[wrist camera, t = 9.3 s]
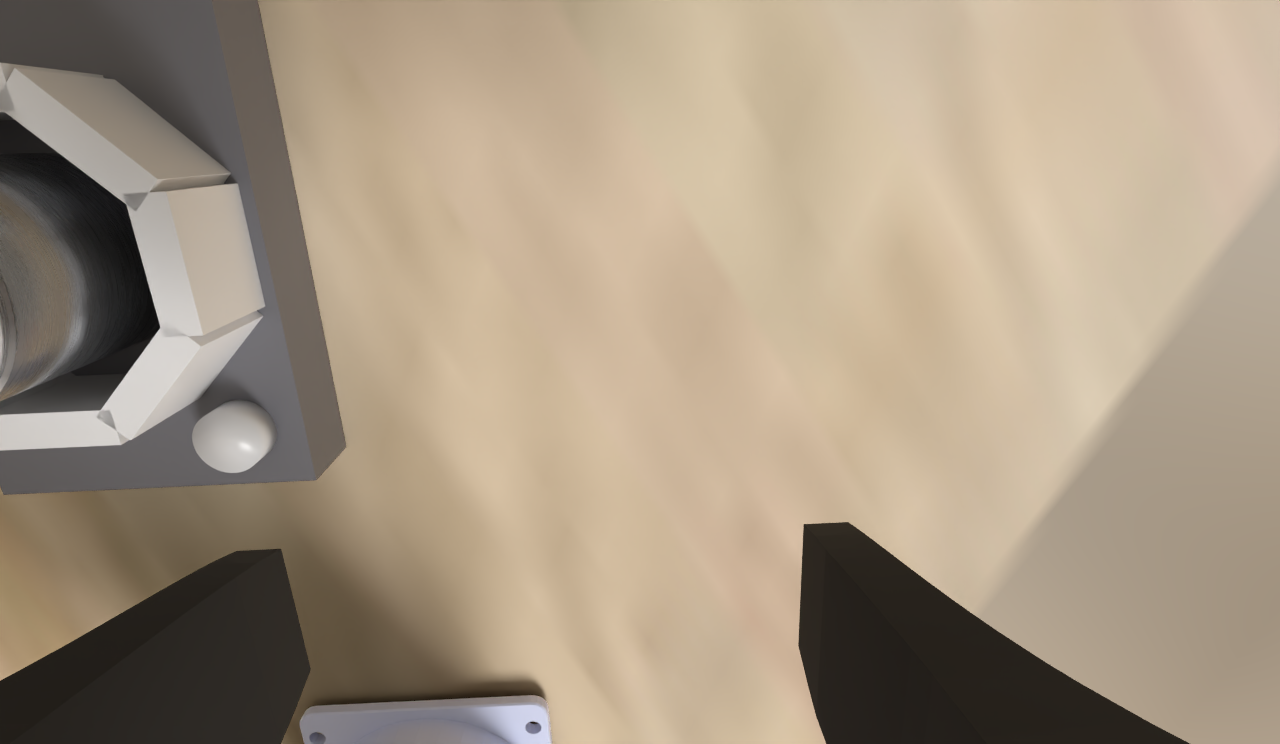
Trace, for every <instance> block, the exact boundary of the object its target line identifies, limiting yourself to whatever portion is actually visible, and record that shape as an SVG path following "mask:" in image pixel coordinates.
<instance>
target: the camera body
mask: <svg viewBox="0 0 1280 744" xmlns="http://www.w3.org/2000/svg"><path fill="white" fill-rule="evenodd" d="M19 153H59V154H61V155H62V156H63V157H65V158H66V159H67V160H68V161H70V162H71V163H72V164H74V165H75V166H76V167H78V168H79V169H80V170H82V171H83V172H84V173H86V174H87V175H88V176H90V177H91V178H92V179H93V180H95V181H96V182H97V183H99V184H100V185H101V186H103V187H104V188H105V189H107V190H108V191H109V192H111V193H112V194H113V195H115V196H116V197H117V198H118V199H120V200H121V201H122V202H124V203H125V204H126V205H127V209H128V213H129V216H130V220H131V223H132V227H133V230H134V234H135V238H136V241H137V245H138V248H139V252H140V256H141V259H142V263H143V266H144V270H145V274H146V277H147V281H148V284H149V288H150V291H151V295H152V299H153V302H154V306H155V309H156V313H157V317H158V320H159V324H160V327H161V328H160V329H159V330H158V332H157V333H156V335H155V336H153V337H151V338H149V339H147V340H145V341H142V342H140V343H138V344H135V345H133V346H131V347H128V348H126V349H123V350H121V351H119V352H116V353H114V354H112V355H109V356H107V357H104V358H102V359H100V360H97V361H95V362H92V363H90V364H88V365H85V366H83V367H81V368H78V369H76V370H73V371H71V372H69V373H66V374H64V375H62V376H59V377H57V378H54V379H52V380H50V381H47V382H45V383H43V384H40V385H38V386H35V387H33V388H31V389H28V390H26V391H24V392H21V393H19V394H16V395H14V396H12V397H9V398H7V399H5V400H2V401H0V487H1V489H2V492H3V494H4V495H8V494H30V493H51V492H73V491H95V490H116V489H138V488H159V487H181V486H202V485H224V484H245V483H267V482H288V481H310V480H317V479H318V478H319V477H320V475H321V474H322V473H323V472H324V471H325V470H326V469H327V468H328V467H329V466H330V464H331V463H332V462H333V461H334V460H335V459H336V458H337V457H338V456H339V454H340V453H341V452H342V451H343V450H344V449H345V448H346V443H345V438H344V433H343V428H342V423H341V418H340V413H339V408H338V403H337V398H336V393H335V388H334V383H333V378H332V373H331V368H330V363H329V358H328V353H327V348H326V343H325V338H324V333H323V327H322V322H321V317H320V312H319V307H318V302H317V297H316V292H315V287H314V282H313V277H312V272H311V267H310V262H309V257H308V252H307V247H306V242H305V237H304V232H303V227H302V222H301V217H300V212H299V207H298V202H297V197H296V192H295V187H294V182H293V177H292V171H291V166H290V161H289V156H288V151H287V146H286V141H285V136H284V131H283V126H282V121H281V116H280V111H279V106H278V101H277V96H276V91H275V86H274V81H273V76H272V71H271V66H270V61H269V56H268V51H267V46H266V41H265V36H264V31H263V26H262V21H261V16H260V10H259V5H258V0H0V154H19Z"/></svg>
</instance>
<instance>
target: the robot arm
mask: <svg viewBox="0 0 1280 744" xmlns="http://www.w3.org/2000/svg"><path fill="white" fill-rule="evenodd" d="M799 650H800V654H801V658H802V662H803V666H804V670H805V674H806V678H807V683H808V686H809V690H810V694H811V698H812V702H813V705H814V709H815V713H816V717H817V719H818V722H819V725H820V728H821V730H822V733H823V736H824V738H825V741H826V744H1189V743H1188V742H1186V741H1184V740H1182V739H1180V738H1178V737H1176V736H1174V735H1172V734H1170V733H1168V732H1166V731H1165V730H1163V729H1161V728H1159V727H1157V726H1155V725H1153V724H1151V723H1149V722H1148V721H1146V720H1144V719H1142V718H1140V717H1139V716H1137V715H1135V714H1133V713H1131V712H1130V711H1128V710H1126V709H1124V708H1123V707H1121V706H1119V705H1117V704H1116V703H1114V702H1112V701H1110V700H1109V699H1107V698H1105V697H1103V696H1101V695H1100V694H1098V693H1096V692H1094V691H1093V690H1091V689H1089V688H1087V687H1085V686H1083V685H1082V684H1080V683H1079V682H1077V681H1075V680H1073V679H1072V678H1070V677H1068V676H1067V675H1065V674H1064V673H1062V672H1060V671H1059V670H1057V669H1055V668H1054V667H1052V666H1050V665H1049V664H1047V663H1045V662H1044V661H1043V660H1041V659H1039V658H1038V657H1036V656H1035V655H1033V654H1032V653H1030V652H1029V651H1027V650H1026V649H1024V648H1022V647H1021V646H1019V645H1018V644H1016V643H1015V642H1013V641H1012V640H1010V639H1009V638H1007V637H1005V636H1004V635H1003V634H1001V633H999V632H998V631H996V630H995V629H993V628H992V627H990V626H989V625H988V624H986V623H985V622H983V621H982V620H980V619H979V618H978V617H976V616H975V615H973V614H972V613H970V612H969V611H967V610H966V609H965V608H963V607H962V606H960V605H959V604H958V603H956V602H955V601H953V600H952V599H951V598H949V597H948V596H946V595H945V594H944V593H942V592H941V591H940V590H938V589H937V588H936V587H934V586H933V585H931V584H930V583H929V582H927V581H926V580H925V579H923V578H922V577H921V576H919V575H918V574H917V573H915V572H914V571H913V570H911V569H910V568H909V567H907V566H906V565H905V564H904V563H902V562H901V561H900V560H898V559H897V558H896V557H894V556H893V555H892V554H890V553H889V552H888V551H886V550H885V549H884V548H883V547H881V546H880V545H879V544H877V543H876V542H875V541H873V540H872V539H871V538H869V537H868V536H867V535H865V534H864V533H863V532H861V531H860V530H858V529H857V528H856V527H854V526H853V525H851V524H850V523H848V522H843V523H822V524H804V532H803V555H802V578H801V600H800V623H799ZM309 672H310V665H309V661H308V657H307V653H306V649H305V645H304V641H303V636H302V632H301V628H300V624H299V620H298V616H297V612H296V608H295V604H294V600H293V596H292V592H291V588H290V584H289V580H288V576H287V572H286V567H285V563H284V559H283V555H282V551H281V549H270V550H249V551H236V552H234V553H231V554H229V555H227V556H225V557H223V558H220V559H218V560H216V561H214V562H212V563H210V564H208V565H207V566H205V567H203V568H201V569H199V570H197V571H195V572H193V573H192V574H190V575H188V576H186V577H184V578H183V579H181V580H179V581H177V582H175V583H174V584H172V585H170V586H168V587H167V588H165V589H163V590H161V591H159V592H158V593H156V594H154V595H153V596H151V597H149V598H147V599H146V600H144V601H142V602H140V603H139V604H137V605H135V606H133V607H132V608H130V609H128V610H126V611H125V612H123V613H121V614H119V615H118V616H116V617H114V618H112V619H111V620H109V621H107V622H105V623H104V624H102V625H100V626H98V627H97V628H95V629H93V630H91V631H90V632H88V633H86V634H85V635H83V636H81V637H79V638H78V639H76V640H74V641H72V642H71V643H69V644H67V645H65V646H64V647H62V648H60V649H58V650H56V651H55V652H53V653H51V654H49V655H47V656H45V657H43V658H42V659H40V660H38V661H36V662H34V663H32V664H31V665H29V666H27V667H25V668H23V669H21V670H20V671H18V672H16V673H14V674H12V675H10V676H9V677H7V678H5V679H3V680H1V681H0V744H281V742H282V740H283V737H284V735H285V733H286V730H287V728H288V725H289V723H290V721H291V718H292V716H293V714H294V711H295V709H296V706H297V704H298V701H299V698H300V696H301V693H302V690H303V688H304V685H305V683H306V680H307V677H308V675H309ZM532 721H534V722H538V724H531V723H530V722H532ZM300 729H301V733H302V737H303V741H304V744H552V735H551V726H550V716H549V707H548V704H547V702H546V701H545V700H544V699H543V698H542V697H539V696H535V695H524V696H504V697H484V698H463V699H443V700H423V701H402V702H382V703H362V704H341V705H321V706H313V707H310V708H308V709H307V710H306V711H305V713H304V714H303V716H302V718H301V720H300ZM318 732H319V733H322V734H319V733H318Z"/></svg>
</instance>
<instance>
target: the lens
mask: <svg viewBox="0 0 1280 744" xmlns="http://www.w3.org/2000/svg"><path fill="white" fill-rule="evenodd" d="M160 328H161V327H160V324H159V320H158V317H157V313H156V309H155V306H154V302H153V299H152V295H151V291H150V288H149V284H148V281H147V277H146V274H145V270H144V266H143V263H142V259H141V256H140V252H139V248H138V245H137V241H136V238H135V234H134V230H133V227H132V223H131V220H130V216H129V213H128V209H127V205H126V204H125V203H124V202H122V201H121V200H120V199H118V198H117V197H116V196H115V195H113V194H112V193H111V192H109V191H108V190H107V189H105V188H104V187H103V186H101V185H100V184H99V183H97V182H96V181H95V180H93V179H92V178H91V177H90V176H88V175H87V174H86V173H84V172H83V171H82V170H80V169H79V168H78V167H76V166H75V165H74V164H72V163H71V162H70V161H68V160H67V159H66V158H65V157H63V156H62V155H61V154H59V153H19V154H0V401H2V400H5V399H7V398H9V397H12V396H14V395H16V394H19V393H21V392H24V391H26V390H28V389H31V388H33V387H35V386H38V385H40V384H43V383H45V382H47V381H50V380H52V379H54V378H57V377H59V376H62V375H64V374H66V373H69V372H71V371H73V370H76V369H78V368H81V367H83V366H85V365H88V364H90V363H92V362H95V361H97V360H100V359H102V358H104V357H107V356H109V355H112V354H114V353H116V352H119V351H121V350H123V349H126V348H128V347H131V346H133V345H135V344H138V343H140V342H142V341H145V340H147V339H149V338H151V337H153V336H155V335H156V333H157V332H158V330H159V329H160Z"/></svg>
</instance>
